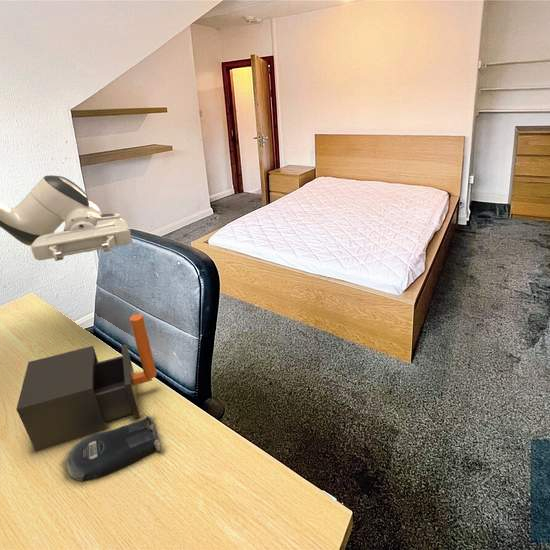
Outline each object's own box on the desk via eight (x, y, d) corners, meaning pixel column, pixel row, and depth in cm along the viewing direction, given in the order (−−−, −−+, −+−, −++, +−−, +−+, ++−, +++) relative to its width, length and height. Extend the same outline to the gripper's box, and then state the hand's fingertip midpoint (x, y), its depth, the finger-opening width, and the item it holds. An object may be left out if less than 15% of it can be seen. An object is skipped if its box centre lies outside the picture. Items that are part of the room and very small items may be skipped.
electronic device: (151, 426, 80) (66, 449, 73) (151, 406, 77) (62, 428, 71) (162, 466, 73) (69, 496, 66) (162, 445, 70) (64, 475, 63)
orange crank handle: (156, 368, 91) (139, 299, 84) (164, 409, 80) (146, 333, 72) (79, 389, 87) (54, 319, 79) (76, 436, 75) (46, 359, 67)
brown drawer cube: (106, 386, 89) (93, 345, 84) (107, 433, 77) (92, 388, 72) (45, 404, 85) (28, 361, 80) (37, 455, 73) (16, 409, 69)
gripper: (31, 227, 92) (21, 248, 80) (125, 212, 98) (129, 229, 86) (40, 253, 95) (32, 277, 83) (131, 236, 101) (135, 256, 89)
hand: (82, 252), depth 85 cm, fingers open, 8 cm apart
